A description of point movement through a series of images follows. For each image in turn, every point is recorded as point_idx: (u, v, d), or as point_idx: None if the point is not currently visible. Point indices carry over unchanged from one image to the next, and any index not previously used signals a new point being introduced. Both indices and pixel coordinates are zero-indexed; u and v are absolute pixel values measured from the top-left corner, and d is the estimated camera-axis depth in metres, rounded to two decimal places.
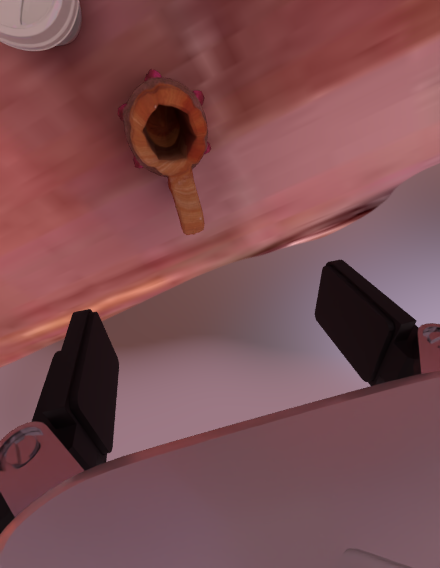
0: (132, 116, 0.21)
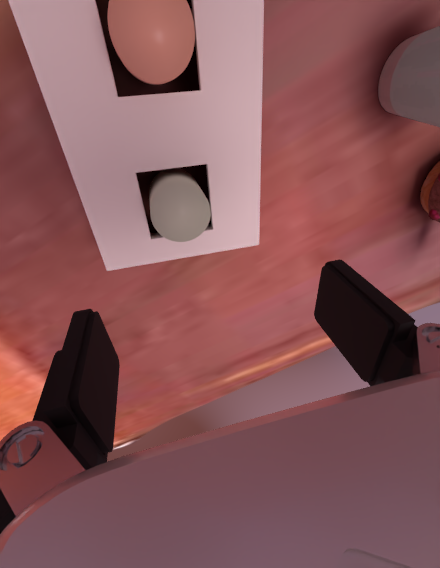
0: None
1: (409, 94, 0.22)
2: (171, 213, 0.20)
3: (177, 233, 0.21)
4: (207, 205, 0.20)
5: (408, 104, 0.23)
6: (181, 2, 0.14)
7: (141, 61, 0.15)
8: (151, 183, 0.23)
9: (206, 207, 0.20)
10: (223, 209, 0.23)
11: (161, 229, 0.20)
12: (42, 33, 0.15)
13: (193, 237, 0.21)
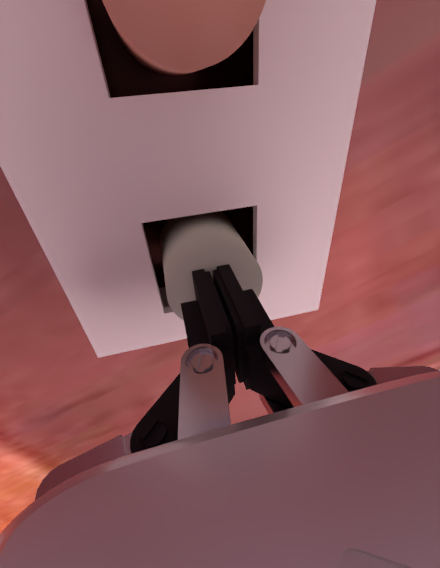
0: None
1: None
2: None
3: None
4: (258, 274, 0.12)
5: None
6: None
7: (156, 21, 0.07)
8: (164, 228, 0.15)
9: (256, 277, 0.12)
10: (274, 268, 0.15)
11: None
12: None
13: None
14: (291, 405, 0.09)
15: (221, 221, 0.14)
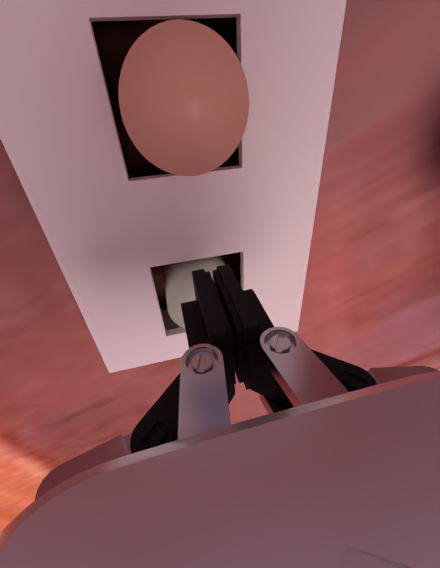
0: None
1: None
2: None
3: None
4: None
5: None
6: (232, 67, 0.09)
7: (167, 150, 0.10)
8: None
9: None
10: (258, 298, 0.18)
11: (179, 320, 0.17)
12: (18, 103, 0.10)
13: None
14: (291, 405, 0.09)
15: None
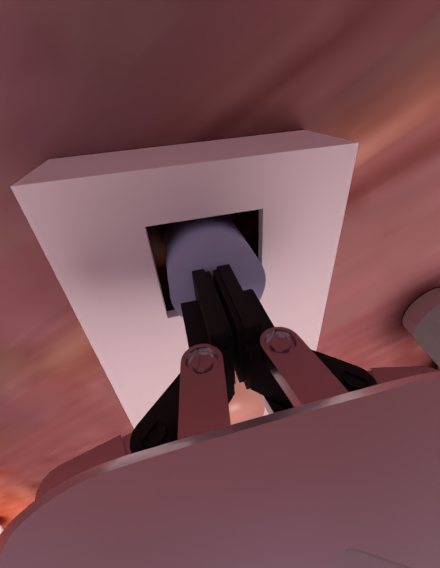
0: None
1: (432, 355, 0.25)
2: None
3: None
4: None
5: (431, 357, 0.26)
6: (256, 403, 0.17)
7: None
8: None
9: None
10: None
11: None
12: (138, 401, 0.19)
13: None
14: (291, 405, 0.09)
15: None
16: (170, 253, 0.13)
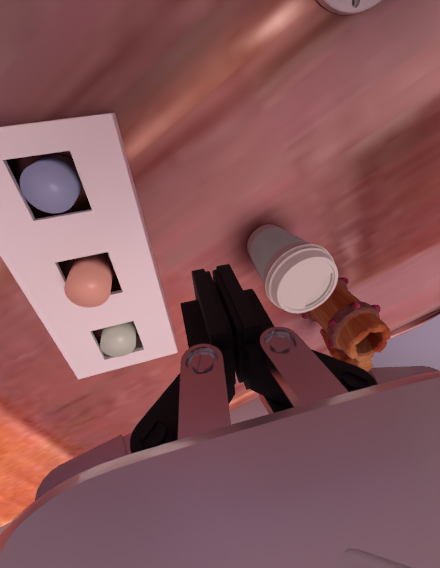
0: (354, 341, 0.35)
1: None
2: (112, 345, 0.36)
3: (117, 352, 0.36)
4: (133, 338, 0.36)
5: None
6: (100, 279, 0.28)
7: (83, 301, 0.29)
8: None
9: (132, 339, 0.36)
10: (148, 339, 0.37)
11: (107, 352, 0.36)
12: (32, 286, 0.29)
13: (127, 353, 0.37)
14: (291, 405, 0.09)
15: None
16: None
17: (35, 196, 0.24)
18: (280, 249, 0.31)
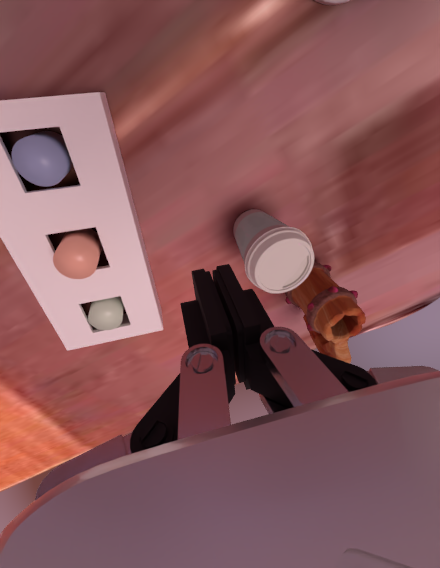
0: (329, 323, 0.36)
1: None
2: (99, 318, 0.37)
3: (105, 326, 0.38)
4: (119, 313, 0.38)
5: None
6: (87, 251, 0.30)
7: (71, 273, 0.31)
8: None
9: (119, 314, 0.38)
10: (135, 315, 0.39)
11: (95, 325, 0.38)
12: (23, 257, 0.31)
13: (114, 327, 0.39)
14: (291, 405, 0.09)
15: None
16: None
17: (26, 169, 0.26)
18: (260, 231, 0.32)
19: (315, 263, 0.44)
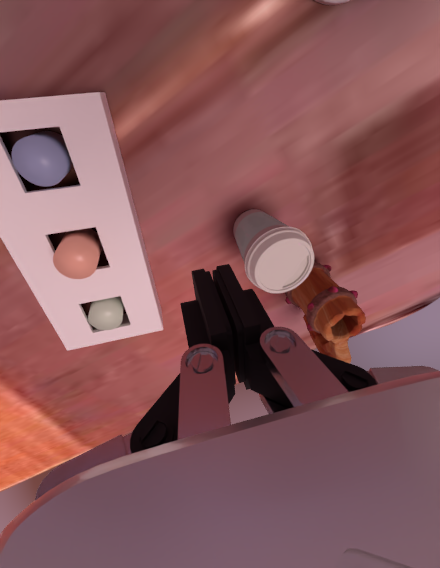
0: (329, 323, 0.36)
1: None
2: (99, 318, 0.37)
3: (105, 326, 0.38)
4: (119, 313, 0.38)
5: None
6: (87, 251, 0.30)
7: (71, 273, 0.31)
8: None
9: (119, 314, 0.38)
10: (135, 315, 0.39)
11: (95, 325, 0.38)
12: (23, 257, 0.31)
13: (114, 327, 0.39)
14: (291, 405, 0.09)
15: None
16: None
17: (26, 169, 0.26)
18: (260, 231, 0.32)
19: (315, 263, 0.44)
